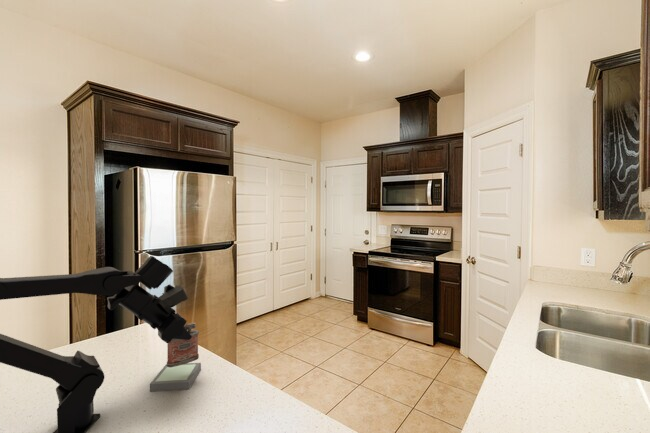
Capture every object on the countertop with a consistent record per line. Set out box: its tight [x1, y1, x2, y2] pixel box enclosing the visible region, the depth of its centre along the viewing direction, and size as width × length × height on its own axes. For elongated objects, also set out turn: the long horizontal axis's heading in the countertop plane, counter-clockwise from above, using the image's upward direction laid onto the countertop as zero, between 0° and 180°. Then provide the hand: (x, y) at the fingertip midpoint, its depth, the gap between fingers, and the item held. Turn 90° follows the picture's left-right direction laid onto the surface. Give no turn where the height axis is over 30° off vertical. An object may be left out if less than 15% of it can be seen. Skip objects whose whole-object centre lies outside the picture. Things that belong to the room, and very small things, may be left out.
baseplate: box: [149, 362, 202, 392], centre depth 86 cm, size 10×10×2 cm
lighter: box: [166, 322, 200, 367], centre depth 83 cm, size 8×3×10 cm, turn 131°
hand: (188, 336), depth 84 cm, fingers closed on lighter, 3 cm apart
